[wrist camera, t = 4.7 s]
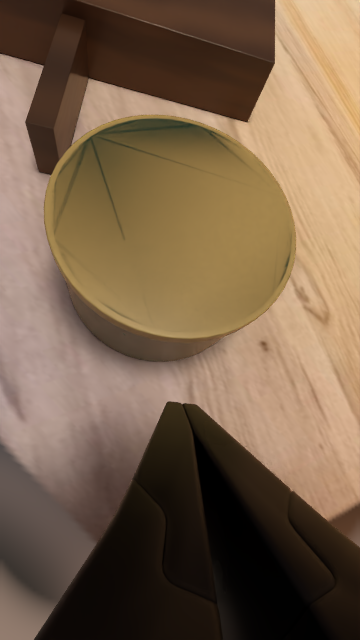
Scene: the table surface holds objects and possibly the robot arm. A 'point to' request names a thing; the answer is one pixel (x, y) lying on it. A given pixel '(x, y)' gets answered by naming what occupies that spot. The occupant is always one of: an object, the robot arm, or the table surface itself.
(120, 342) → the tin
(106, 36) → the dark brown wooden block
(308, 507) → the robot arm
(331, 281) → the table surface
